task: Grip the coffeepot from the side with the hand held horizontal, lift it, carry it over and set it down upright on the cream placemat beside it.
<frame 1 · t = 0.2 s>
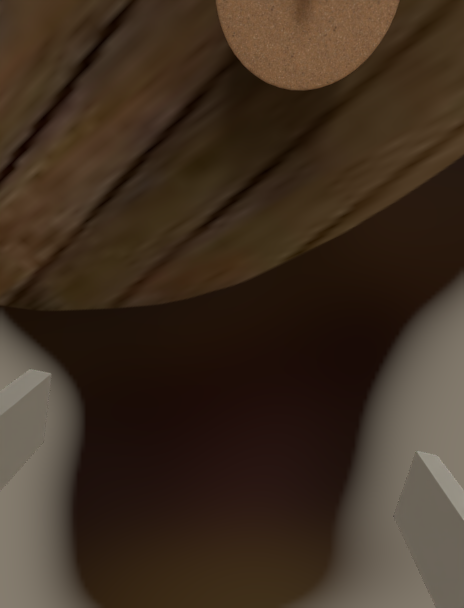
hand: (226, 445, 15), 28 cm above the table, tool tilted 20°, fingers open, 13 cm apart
lidded jar: (301, 0, 31), on the table
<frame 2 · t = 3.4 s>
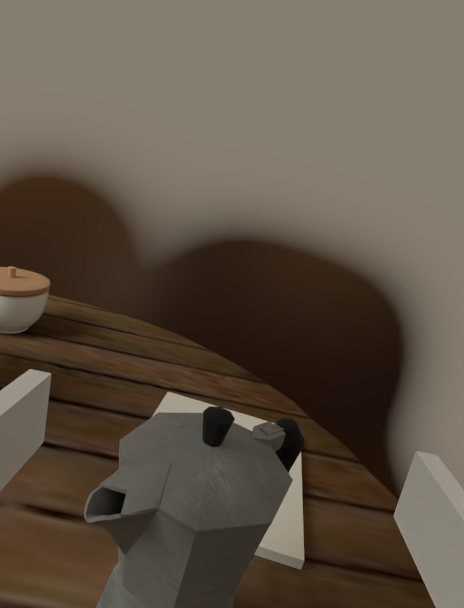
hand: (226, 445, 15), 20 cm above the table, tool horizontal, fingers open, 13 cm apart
lidded jar: (6, 326, 64), on the table
placemat: (218, 464, 45), on the table
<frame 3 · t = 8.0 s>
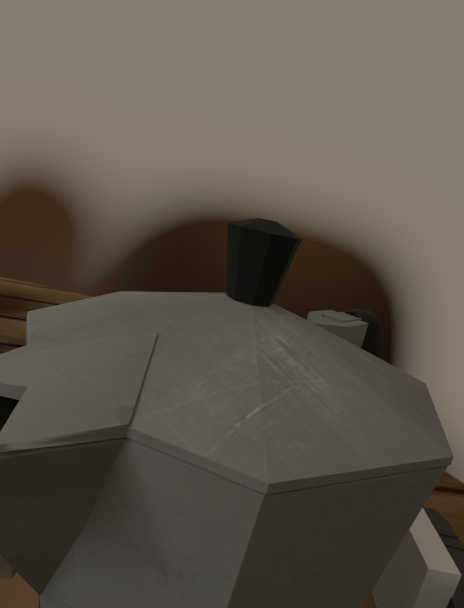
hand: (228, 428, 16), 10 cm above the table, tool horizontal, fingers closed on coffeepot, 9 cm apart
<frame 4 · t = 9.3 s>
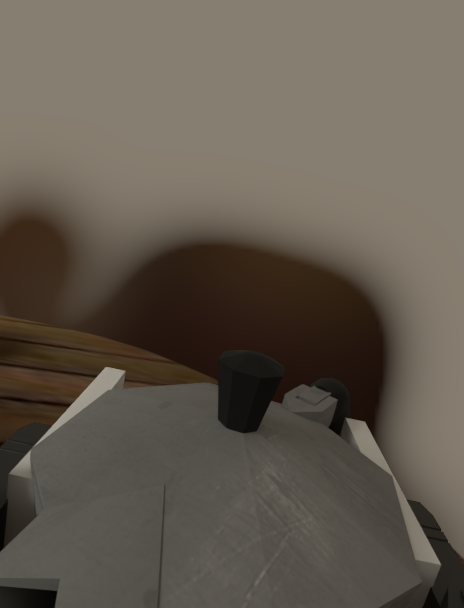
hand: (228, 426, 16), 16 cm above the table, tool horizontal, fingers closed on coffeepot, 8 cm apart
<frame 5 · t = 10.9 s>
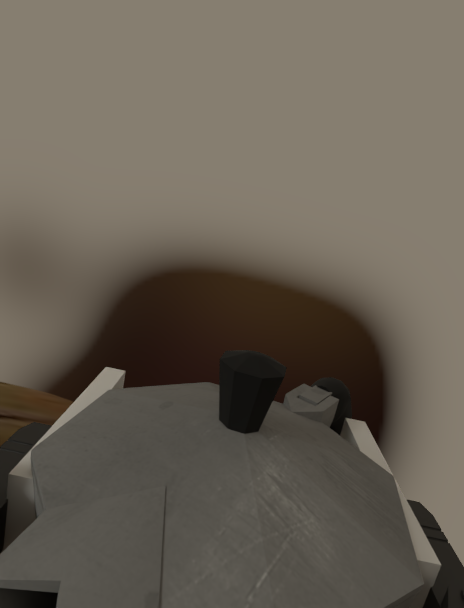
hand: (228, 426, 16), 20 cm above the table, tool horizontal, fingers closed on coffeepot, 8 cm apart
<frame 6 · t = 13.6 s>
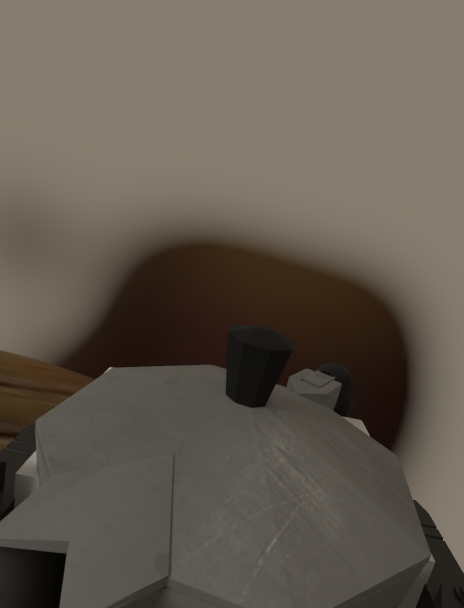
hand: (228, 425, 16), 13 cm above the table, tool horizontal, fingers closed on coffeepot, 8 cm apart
when the fingers open (13 cm above the table, at t = 13.7 s): coffeepot stays where it is, resting on placemat.
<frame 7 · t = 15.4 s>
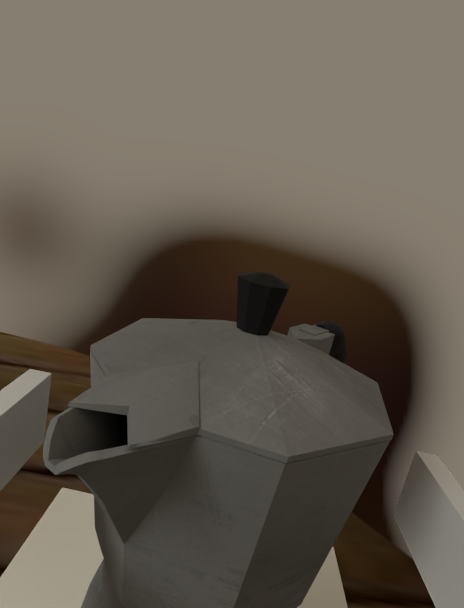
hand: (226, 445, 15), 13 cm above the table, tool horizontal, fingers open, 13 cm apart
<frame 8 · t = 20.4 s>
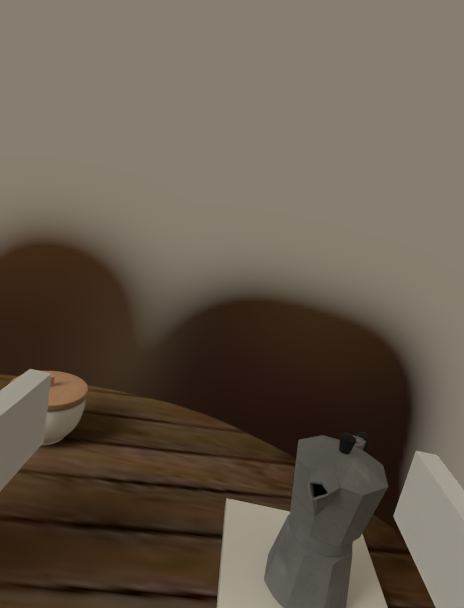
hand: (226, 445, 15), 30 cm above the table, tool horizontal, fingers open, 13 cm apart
lidded jar: (43, 434, 62), on the table
coffeepot: (307, 577, 46), point 1 cm above the table, touching placemat
placemat: (300, 584, 46), on the table
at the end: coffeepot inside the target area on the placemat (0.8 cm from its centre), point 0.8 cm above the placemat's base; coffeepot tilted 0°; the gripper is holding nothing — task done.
